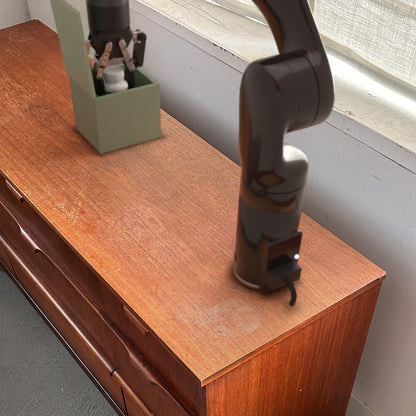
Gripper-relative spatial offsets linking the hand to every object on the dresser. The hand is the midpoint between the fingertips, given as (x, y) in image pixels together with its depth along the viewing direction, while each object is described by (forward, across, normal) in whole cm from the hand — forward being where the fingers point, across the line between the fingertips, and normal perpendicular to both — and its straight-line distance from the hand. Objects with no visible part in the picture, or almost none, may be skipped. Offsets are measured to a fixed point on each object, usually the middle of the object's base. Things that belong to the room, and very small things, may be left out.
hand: (115, 93), depth 122 cm
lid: (-10, -7, 0) cm, 12 cm away
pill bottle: (+5, 0, 0) cm, 5 cm away
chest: (+8, 0, 0) cm, 8 cm away
